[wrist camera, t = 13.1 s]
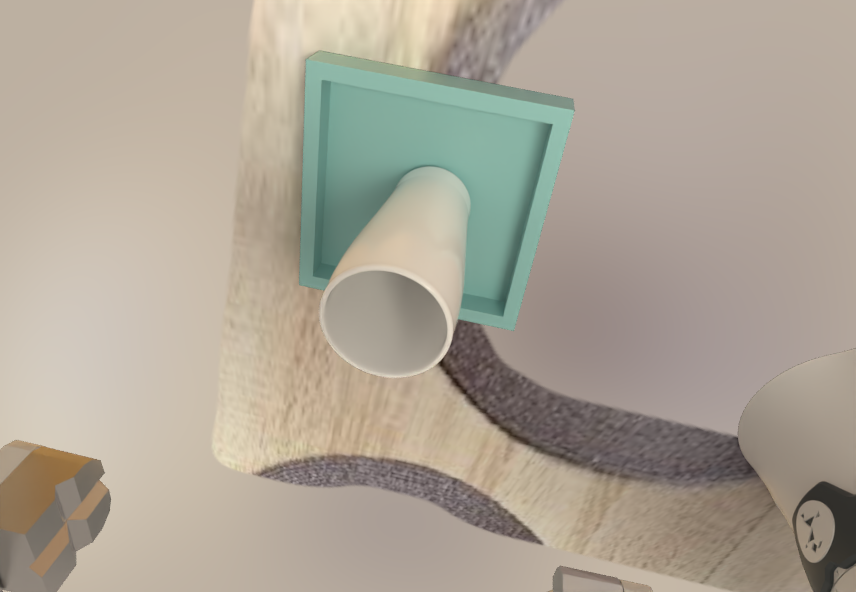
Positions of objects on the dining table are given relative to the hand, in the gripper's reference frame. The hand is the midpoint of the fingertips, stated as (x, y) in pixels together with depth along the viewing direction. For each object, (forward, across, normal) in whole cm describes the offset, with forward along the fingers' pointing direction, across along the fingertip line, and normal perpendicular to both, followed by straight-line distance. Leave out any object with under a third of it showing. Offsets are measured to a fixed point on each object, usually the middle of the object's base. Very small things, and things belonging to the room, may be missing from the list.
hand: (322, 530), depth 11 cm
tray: (+32, +3, +8) cm, 33 cm away
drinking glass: (+32, +2, +8) cm, 33 cm away
